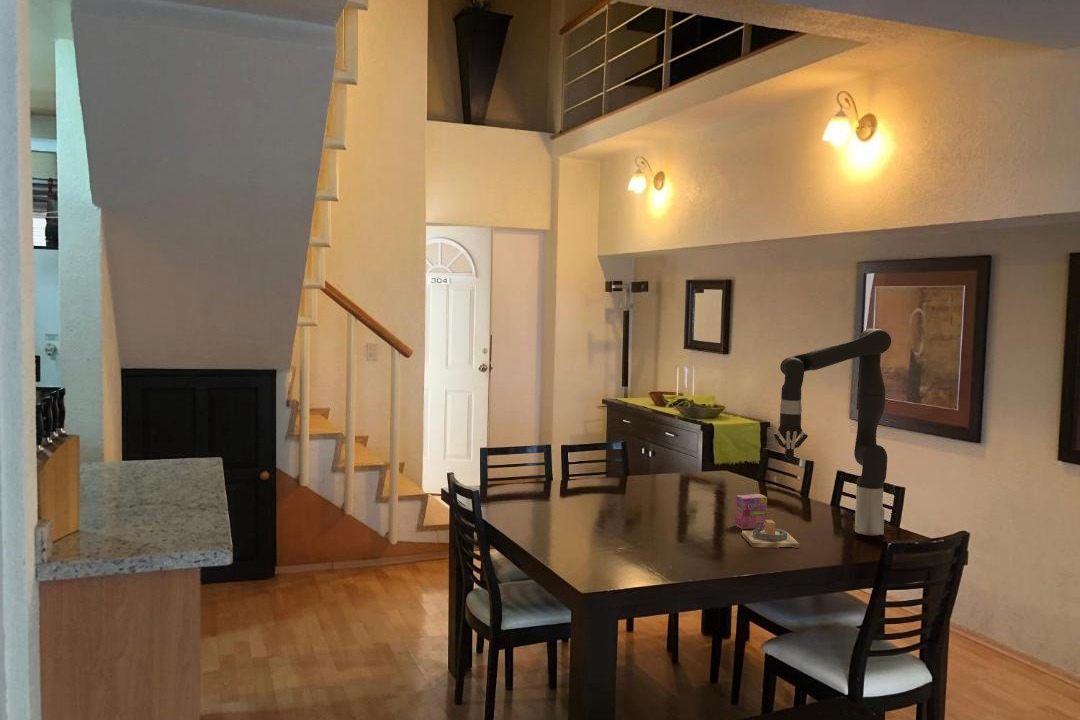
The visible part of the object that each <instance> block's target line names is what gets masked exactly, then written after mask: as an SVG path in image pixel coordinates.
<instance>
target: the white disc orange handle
mask: <svg viewBox="0 0 1080 720" xmlns="http://www.w3.org/2000/svg"><path fill="white" fill-rule="evenodd" d="M775 528H776V522H775V521H774V520H773V519H766V520H765V530H763V531H760V533H764V534H769V535H779V534H780V533H779V532H777V531H775Z"/></svg>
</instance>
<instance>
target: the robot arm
mask: <svg viewBox="0 0 1080 720" xmlns="http://www.w3.org/2000/svg"><path fill="white" fill-rule="evenodd" d="M891 345H892V337H891V335H890V334H889V333H888V332H887V331H886V330H884V329H880V328H867V329H864V330H863V331H861V333H860V335H859V337H858V338H857V339H854V340H851V341H847V342H843V343H838V344H833V345H828V346H825V347H821V348H818V349H815V350H811V351H809V352H806V353H802V354H797V355H793V356H789V357H786V358H784V359H783V360H782V361H781V362H780V371H781V373H782V374H783V375H784V382H783V383H784V384H783V385H782V386H781V393H780V394H781V397H780V400H781V401H780V405H779V406H780V409H779V427H778V428H777V431H776V432H774V433H772V437H773V438H774V440H775V441H776V443H778V445H779V446H780V447H781V448H784V457H785V458H786V459H787V460H793V459H794V456H795V449H798V448H800V447H801V445H803V443H804V442H805V440H807V438H808V437H809V436H808V434H807V433H805V432H803V428H802V412H803V409H802V408H803V407H802V386H803V383H804V376H805V373H806V372H809V371H817V370H821V369H824V368H827V367H830V366H833V365H836V364H839V363H842V362H844V361H848V360H851V359H852V360H853V359H856V358H859V379H858V381H859V382H858V393H857V395H858V396H857V397H858V398H857V430H856V438H855V443H854V452H853V453H854V454H853V455H854V459H855V461H856V462H857V464H858V465H860V466H862V468H861V475H860V476H859V477H857V478H856V491H855V495H856V496H855V514H854V515H855V516H854V517H855V518H854V532H855V533H856V534H859V535H866V536H880V535H884V534H885V533H884V531H885V510H886V509H885V508H883V504H884V503H883V502H884V501H883V500H884V484H885V481H886V478H887V472H888V471H887V470H888V453H887V451H886V449H885V448H884V447H883V446H882V445H880V444H877V431H878V430H877V429H878V425H879V423H880V421H881V419H882V416H883V414H884V412H885V405H886V387H885V382H884V379H883V374H882V370H881V357H882V354H883V353H885V352H887V350H889V348H890V347H891ZM781 437H782V438H783V440H782V439H781Z"/></svg>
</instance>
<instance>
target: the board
mask: <svg viewBox="0 0 1080 720" xmlns="http://www.w3.org/2000/svg"><path fill="white" fill-rule="evenodd" d="M784 531H785V532H786V533H787V539H785V540H783V541H765V540H761V539H756V538H755V537H754V536H753V530H742V531H741V536H742V537H743V538H744V539H745V541H746V542H747V543H748V542H749V543H748V544H749V545H750V546H751V548H779V547H794V549H795V548H796V549H797V548H798V549H799V548H800V543H799V542H798V541H797V540H796V539H795V538H794V537H793V536H792V535H790V534H789V533H788V532H787V531H786V530H784Z"/></svg>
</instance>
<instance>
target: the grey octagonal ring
mask: <svg viewBox="0 0 1080 720" xmlns="http://www.w3.org/2000/svg"><path fill="white" fill-rule="evenodd" d="M763 530H765V527H759V528H752V531H753V536H754V537H755V538H756V539H761V540H765V541H783V540H785V539H787V533H788V532H787V531H786V530H784V529H780V528H776V527H775V531H777V532H779V533H780V534H779V535H769V534H764V533H760V531H763ZM785 531H786V532H787V533H786V532H785Z"/></svg>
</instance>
